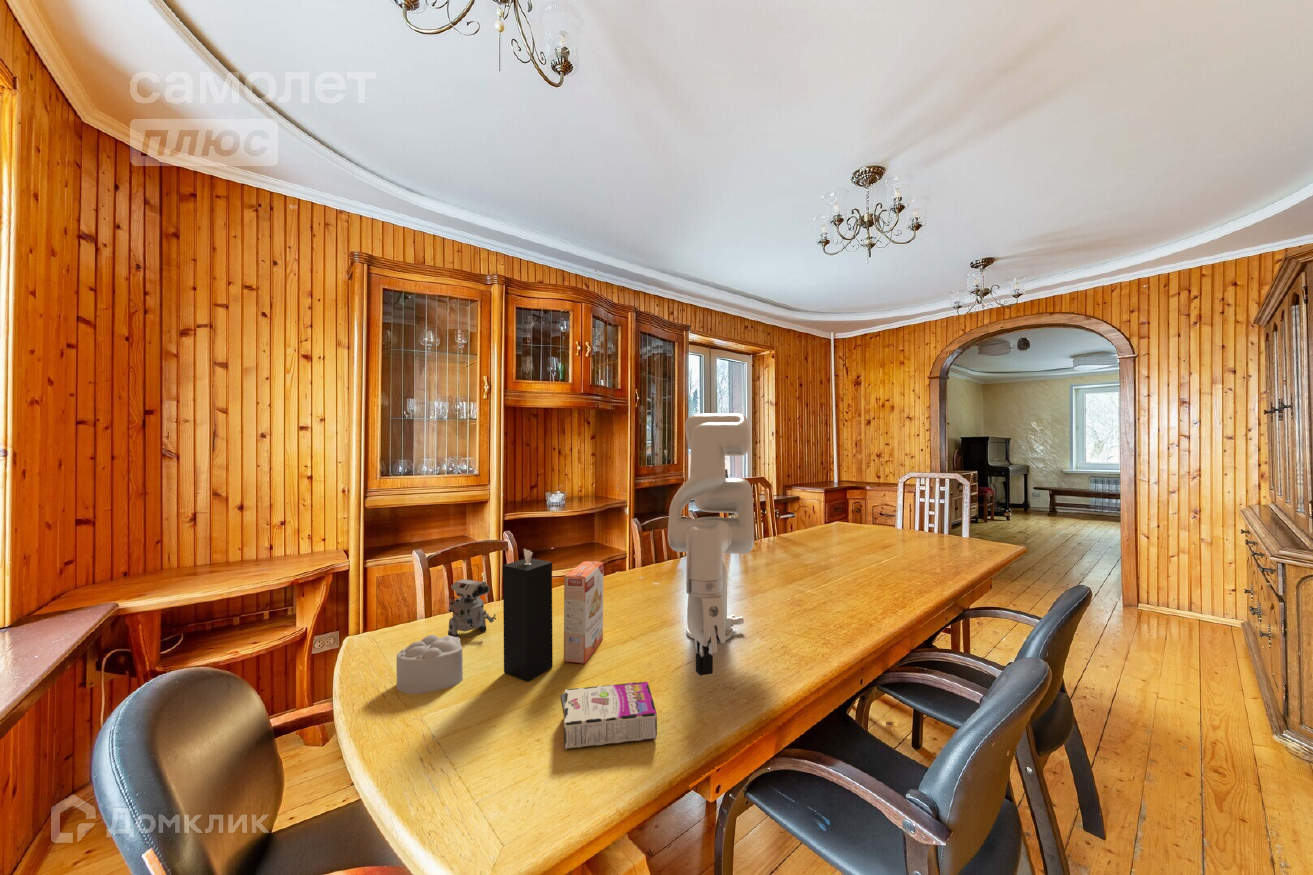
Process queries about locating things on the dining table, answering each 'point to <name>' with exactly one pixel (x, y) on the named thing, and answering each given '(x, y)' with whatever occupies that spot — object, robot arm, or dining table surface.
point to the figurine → (468, 607)
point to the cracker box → (583, 611)
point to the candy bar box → (609, 715)
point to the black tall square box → (527, 617)
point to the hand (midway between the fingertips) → (704, 672)
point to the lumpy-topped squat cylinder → (430, 665)
